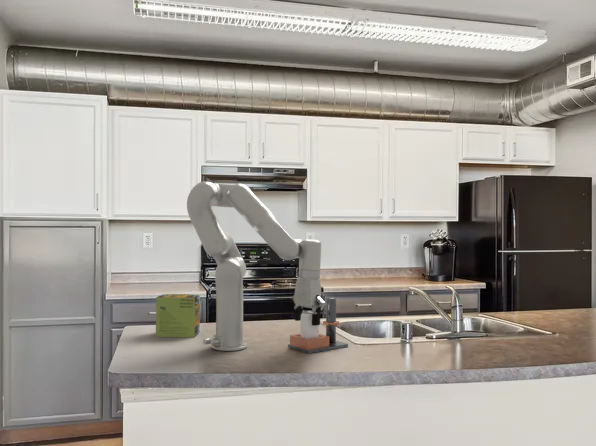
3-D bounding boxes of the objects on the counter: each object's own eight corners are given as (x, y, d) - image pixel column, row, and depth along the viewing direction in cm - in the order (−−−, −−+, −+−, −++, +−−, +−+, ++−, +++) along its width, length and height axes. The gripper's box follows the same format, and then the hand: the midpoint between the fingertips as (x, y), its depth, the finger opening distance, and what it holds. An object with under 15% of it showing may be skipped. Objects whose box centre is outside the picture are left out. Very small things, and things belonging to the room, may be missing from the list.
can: (319, 343, 198) (319, 310, 198) (318, 348, 192) (318, 313, 192) (301, 343, 199) (301, 310, 199) (299, 347, 192) (299, 313, 192)
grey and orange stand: (309, 353, 188) (309, 303, 188) (288, 347, 197) (288, 299, 197) (348, 346, 199) (348, 299, 199) (326, 340, 208) (326, 295, 208)
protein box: (195, 337, 213) (195, 297, 213) (155, 337, 213) (155, 296, 213) (200, 332, 223) (200, 293, 223) (162, 331, 223) (162, 293, 223)
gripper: (286, 272, 200) (284, 319, 200) (316, 277, 186) (314, 328, 186) (302, 271, 205) (300, 317, 205) (333, 276, 191) (331, 326, 191)
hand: (307, 322), depth 196 cm, fingers open, 9 cm apart
